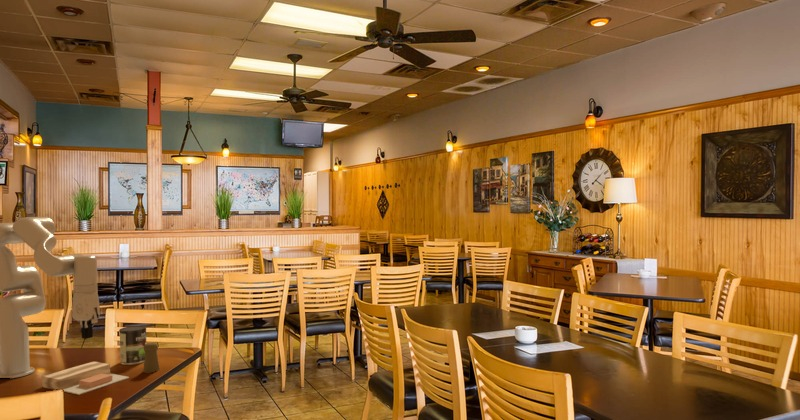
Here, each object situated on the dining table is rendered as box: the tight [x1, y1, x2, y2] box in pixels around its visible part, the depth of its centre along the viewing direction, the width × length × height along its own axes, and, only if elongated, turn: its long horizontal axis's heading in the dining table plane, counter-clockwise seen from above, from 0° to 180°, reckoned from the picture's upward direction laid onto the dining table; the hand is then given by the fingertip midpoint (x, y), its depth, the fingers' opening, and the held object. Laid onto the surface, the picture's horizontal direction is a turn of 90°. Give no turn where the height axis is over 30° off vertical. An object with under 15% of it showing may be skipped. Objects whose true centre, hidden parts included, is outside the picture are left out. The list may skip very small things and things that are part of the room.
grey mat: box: [63, 373, 130, 396], centre depth 206 cm, size 11×20×1 cm, turn 154°
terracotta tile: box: [79, 373, 113, 388], centre depth 206 cm, size 6×9×2 cm, turn 154°
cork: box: [142, 342, 160, 374], centre depth 221 cm, size 6×6×11 cm
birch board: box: [41, 360, 111, 391], centre depth 211 cm, size 10×20×4 cm, turn 154°
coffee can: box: [118, 325, 147, 366], centre depth 235 cm, size 10×10×14 cm
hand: (87, 337), depth 207 cm, fingers closed
